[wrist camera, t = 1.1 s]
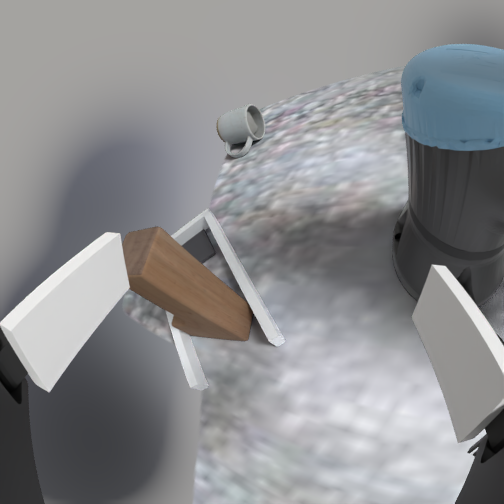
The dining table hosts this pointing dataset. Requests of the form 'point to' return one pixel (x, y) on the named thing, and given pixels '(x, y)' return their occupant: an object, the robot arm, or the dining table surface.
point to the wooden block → (184, 287)
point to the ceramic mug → (241, 128)
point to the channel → (202, 250)
